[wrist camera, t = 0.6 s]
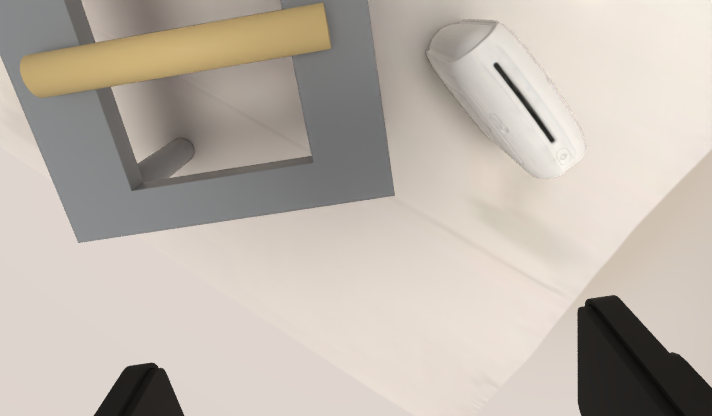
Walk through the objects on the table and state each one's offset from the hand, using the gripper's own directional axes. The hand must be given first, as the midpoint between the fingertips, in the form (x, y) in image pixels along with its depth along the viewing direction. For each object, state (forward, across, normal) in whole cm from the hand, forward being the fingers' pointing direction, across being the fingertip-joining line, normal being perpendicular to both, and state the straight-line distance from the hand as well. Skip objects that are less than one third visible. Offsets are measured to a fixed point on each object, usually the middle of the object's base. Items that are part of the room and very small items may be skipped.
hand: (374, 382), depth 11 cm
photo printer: (+30, -9, -1) cm, 31 cm away
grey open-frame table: (+30, +8, -7) cm, 31 cm away
